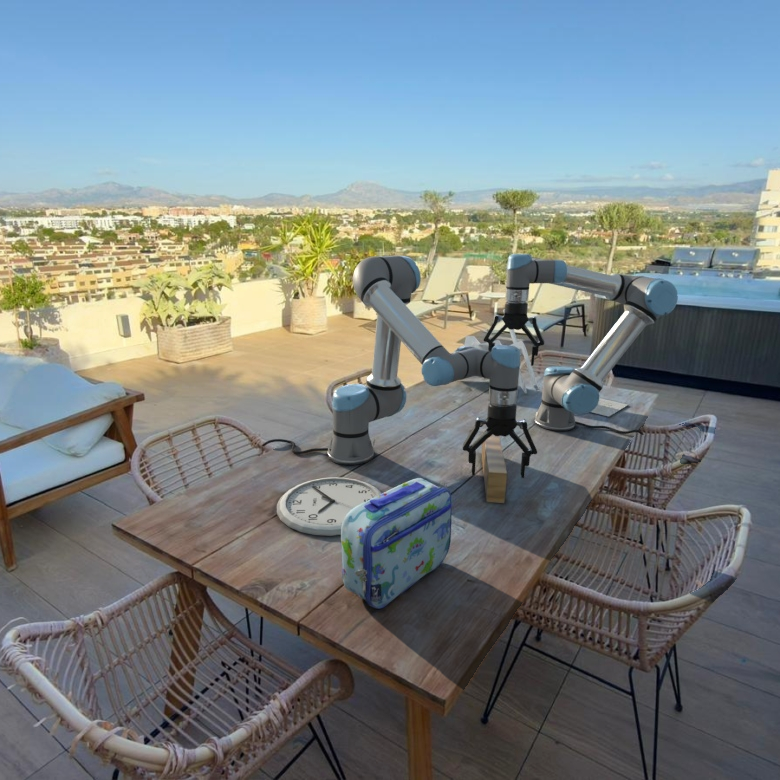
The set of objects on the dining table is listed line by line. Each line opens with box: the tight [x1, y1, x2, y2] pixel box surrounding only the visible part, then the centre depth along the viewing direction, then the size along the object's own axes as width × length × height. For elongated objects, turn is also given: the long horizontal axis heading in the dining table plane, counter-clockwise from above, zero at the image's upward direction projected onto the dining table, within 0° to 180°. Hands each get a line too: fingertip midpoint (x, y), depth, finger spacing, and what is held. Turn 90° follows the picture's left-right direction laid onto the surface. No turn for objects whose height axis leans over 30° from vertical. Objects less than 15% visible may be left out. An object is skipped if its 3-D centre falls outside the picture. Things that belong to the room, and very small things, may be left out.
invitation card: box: [590, 397, 629, 418], centre depth 226 cm, size 21×1×15 cm
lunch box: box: [340, 477, 452, 610], centre depth 110 cm, size 26×11×21 cm, turn 134°
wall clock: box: [276, 476, 383, 537], centre depth 142 cm, size 30×2×30 cm
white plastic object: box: [461, 308, 540, 394], centre depth 253 cm, size 37×45×31 cm
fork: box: [437, 482, 448, 488], centre depth 145 cm, size 3×16×2 cm, turn 160°
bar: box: [480, 428, 508, 504], centre depth 160 cm, size 33×5×9 cm, turn 173°
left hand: (497, 474), depth 147 cm, fingers open, 13 cm apart
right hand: (512, 363), depth 181 cm, fingers open, 13 cm apart
